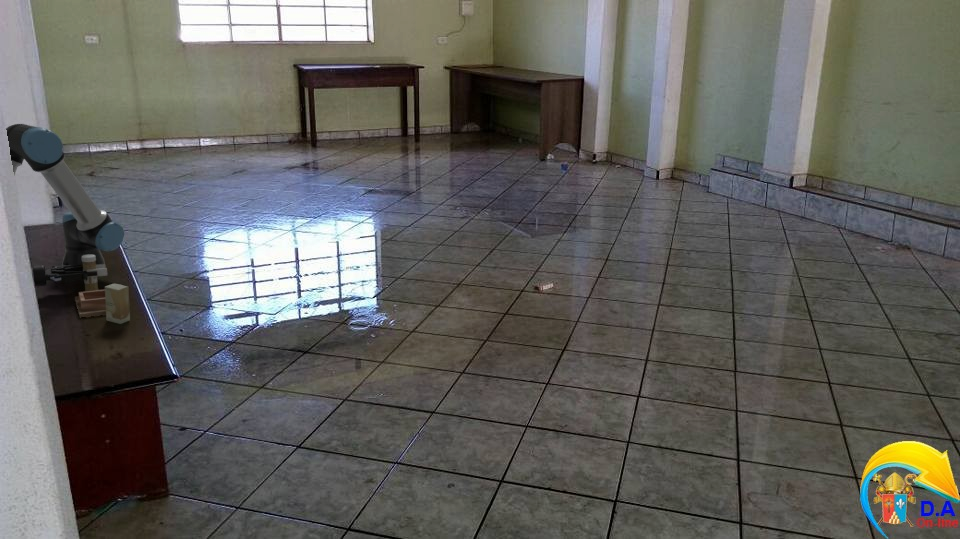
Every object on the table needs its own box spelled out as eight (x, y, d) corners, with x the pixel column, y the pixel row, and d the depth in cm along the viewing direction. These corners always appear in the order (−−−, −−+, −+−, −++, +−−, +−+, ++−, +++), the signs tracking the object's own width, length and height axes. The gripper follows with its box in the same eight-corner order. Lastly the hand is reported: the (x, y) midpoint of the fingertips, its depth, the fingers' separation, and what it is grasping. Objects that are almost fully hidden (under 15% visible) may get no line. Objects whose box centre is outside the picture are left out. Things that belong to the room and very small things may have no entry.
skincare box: (106, 320, 247) (103, 286, 243) (116, 316, 251) (113, 282, 247) (121, 324, 245) (118, 289, 241) (131, 320, 249) (128, 286, 245)
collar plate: (75, 300, 262) (73, 288, 261) (112, 296, 268) (111, 285, 267) (79, 318, 247) (78, 305, 246) (119, 313, 254) (118, 301, 252)
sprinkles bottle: (99, 291, 272) (96, 256, 268) (85, 293, 269) (82, 257, 265) (97, 287, 275) (94, 253, 271) (83, 289, 273) (80, 254, 269)
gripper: (32, 279, 269) (104, 272, 281) (35, 294, 255) (110, 286, 267) (30, 259, 266) (102, 253, 279) (32, 273, 253) (108, 266, 265)
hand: (106, 269), depth 273 cm, fingers closed on sprinkles bottle, 4 cm apart
